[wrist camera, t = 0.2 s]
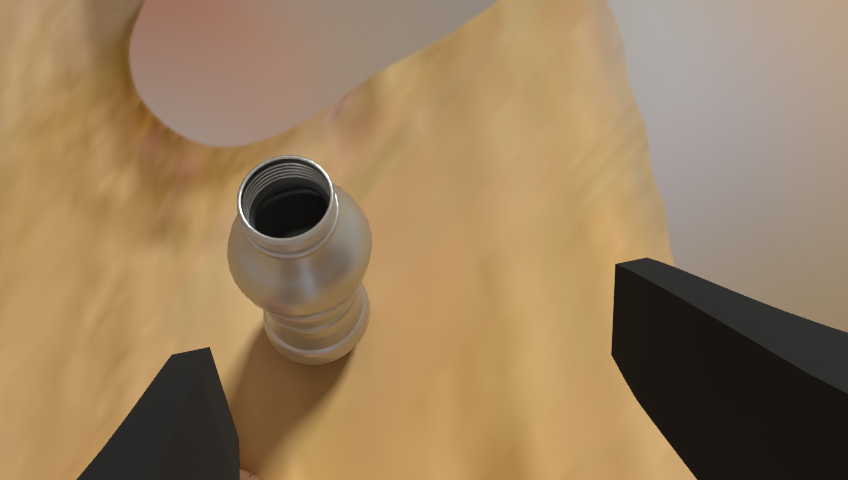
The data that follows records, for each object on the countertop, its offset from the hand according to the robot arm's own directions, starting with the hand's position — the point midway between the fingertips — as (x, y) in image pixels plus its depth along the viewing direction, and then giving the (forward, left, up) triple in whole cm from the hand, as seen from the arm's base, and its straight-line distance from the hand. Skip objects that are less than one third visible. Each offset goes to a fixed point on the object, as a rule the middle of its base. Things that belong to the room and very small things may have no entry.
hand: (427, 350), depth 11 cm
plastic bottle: (+8, +3, -31) cm, 33 cm away
